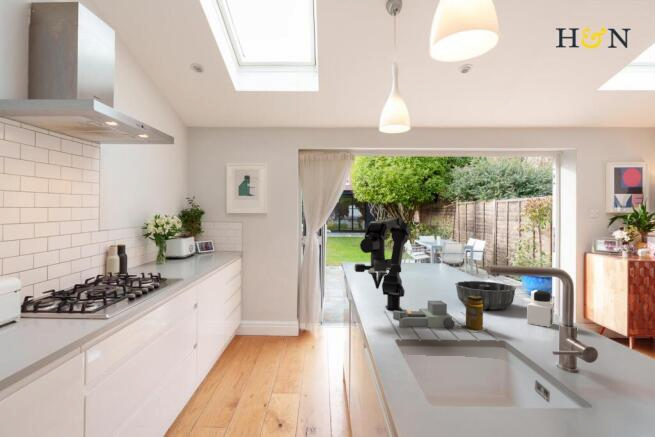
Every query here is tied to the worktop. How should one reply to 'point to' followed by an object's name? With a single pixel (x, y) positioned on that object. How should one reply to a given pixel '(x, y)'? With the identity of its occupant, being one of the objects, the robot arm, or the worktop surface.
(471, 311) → the condiment
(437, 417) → the worktop surface
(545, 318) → the container
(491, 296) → the bundt pan
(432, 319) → the grey blocky piece
